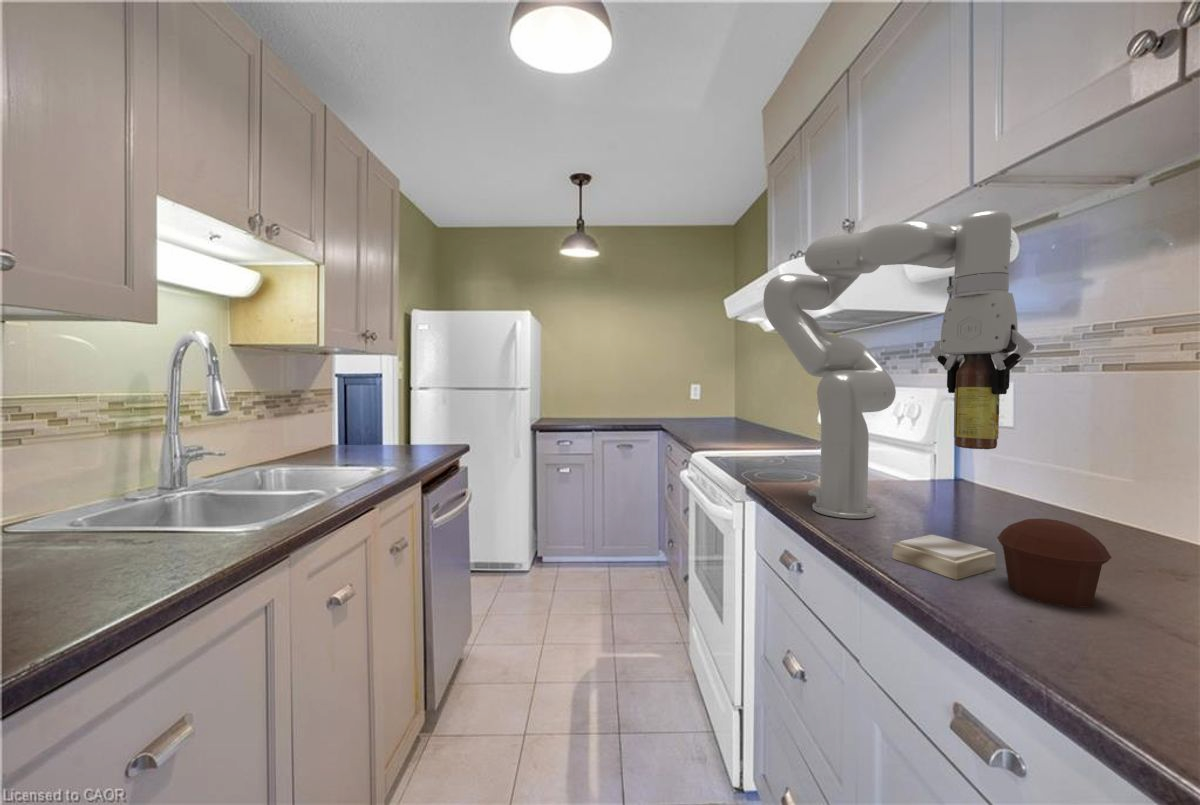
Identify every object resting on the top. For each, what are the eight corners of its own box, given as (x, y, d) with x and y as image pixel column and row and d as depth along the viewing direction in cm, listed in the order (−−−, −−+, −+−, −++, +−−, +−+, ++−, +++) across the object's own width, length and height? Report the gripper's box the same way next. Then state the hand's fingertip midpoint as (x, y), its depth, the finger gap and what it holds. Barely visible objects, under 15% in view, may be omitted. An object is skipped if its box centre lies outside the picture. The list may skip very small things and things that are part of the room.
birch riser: (892, 558, 84) (893, 540, 84) (929, 549, 89) (930, 532, 88) (956, 579, 75) (957, 559, 75) (995, 568, 80) (995, 550, 79)
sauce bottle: (1005, 451, 84) (1012, 330, 83) (963, 449, 86) (969, 331, 84) (984, 445, 91) (990, 333, 90) (945, 444, 92) (950, 334, 91)
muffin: (1110, 594, 70) (1113, 522, 70) (1108, 621, 62) (1112, 540, 62) (1001, 571, 79) (1004, 507, 78) (988, 592, 71) (991, 521, 71)
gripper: (916, 294, 93) (913, 392, 94) (1029, 277, 77) (1023, 395, 78) (941, 296, 96) (938, 391, 97) (1054, 281, 81) (1049, 394, 82)
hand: (976, 392), depth 88 cm, fingers closed on sauce bottle, 6 cm apart
